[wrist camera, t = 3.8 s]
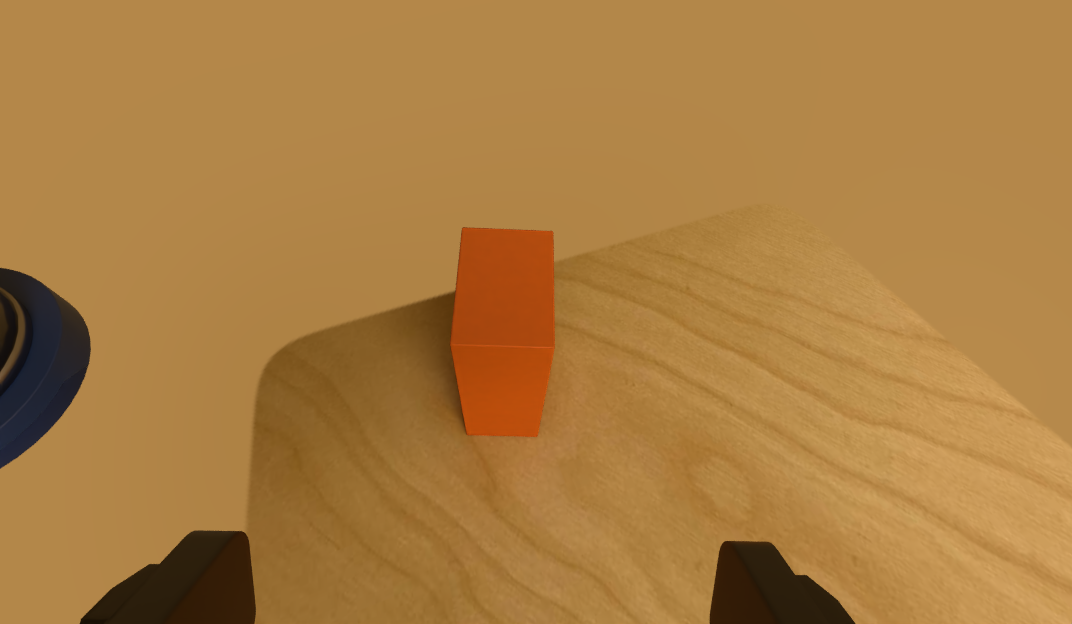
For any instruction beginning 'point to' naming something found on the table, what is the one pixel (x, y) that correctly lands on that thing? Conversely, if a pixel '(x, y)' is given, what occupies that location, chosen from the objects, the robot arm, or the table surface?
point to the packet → (503, 329)
